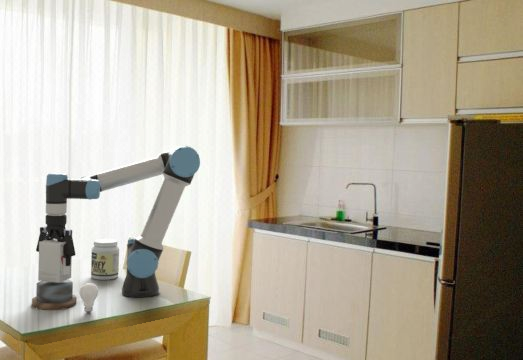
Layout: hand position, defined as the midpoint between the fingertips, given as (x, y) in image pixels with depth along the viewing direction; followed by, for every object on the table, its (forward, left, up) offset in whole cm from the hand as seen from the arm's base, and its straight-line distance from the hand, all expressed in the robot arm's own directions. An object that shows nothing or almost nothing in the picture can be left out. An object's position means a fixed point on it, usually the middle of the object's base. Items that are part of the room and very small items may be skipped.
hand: (55, 272), depth 218 cm
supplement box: (0, 0, -3) cm, 3 cm away
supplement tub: (+11, -43, -12) cm, 46 cm away
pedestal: (0, 0, -12) cm, 12 cm away
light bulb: (-18, +2, -12) cm, 22 cm away
